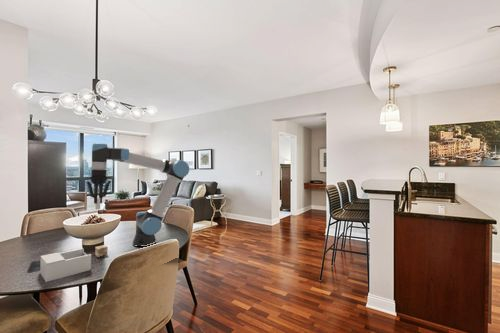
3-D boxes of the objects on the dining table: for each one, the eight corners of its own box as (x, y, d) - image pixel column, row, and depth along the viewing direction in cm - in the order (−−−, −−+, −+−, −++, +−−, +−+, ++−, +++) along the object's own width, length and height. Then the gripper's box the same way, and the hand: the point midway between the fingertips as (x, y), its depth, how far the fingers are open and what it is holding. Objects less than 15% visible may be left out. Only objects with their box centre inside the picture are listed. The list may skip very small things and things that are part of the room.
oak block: (104, 252, 146) (104, 244, 146) (107, 254, 143) (107, 246, 143) (95, 255, 142) (95, 246, 142) (98, 257, 139) (98, 248, 139)
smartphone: (26, 272, 116) (31, 262, 128) (26, 274, 116) (31, 263, 128) (46, 268, 121) (48, 259, 133) (46, 270, 121) (48, 260, 133)
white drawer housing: (82, 262, 131) (83, 247, 131) (90, 269, 122) (91, 253, 122) (40, 272, 117) (40, 255, 117) (45, 282, 108) (46, 263, 108)
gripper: (108, 169, 145) (107, 206, 145) (84, 169, 135) (82, 209, 135) (113, 169, 140) (112, 208, 140) (88, 169, 130) (86, 211, 130)
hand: (97, 208), depth 137 cm, fingers closed
